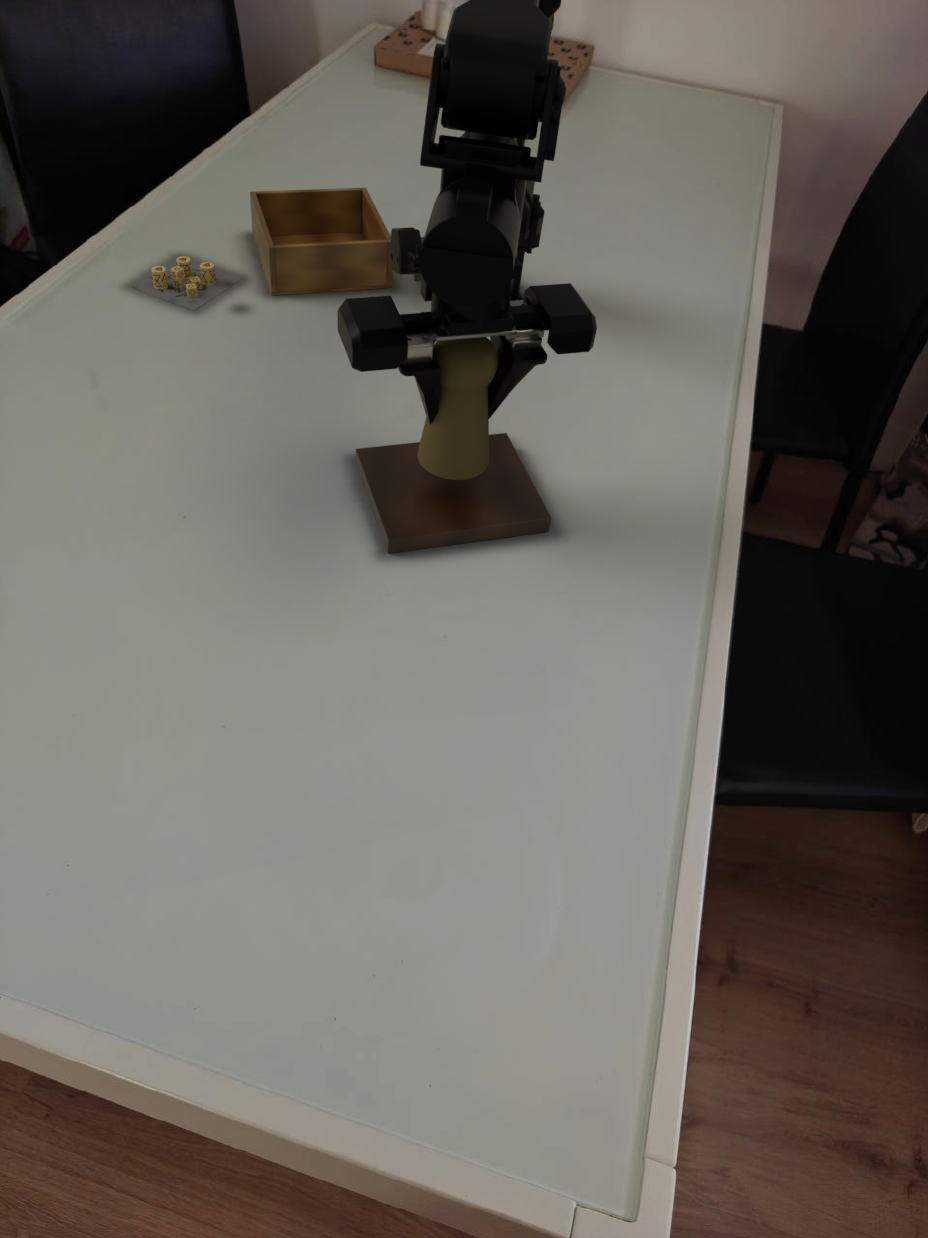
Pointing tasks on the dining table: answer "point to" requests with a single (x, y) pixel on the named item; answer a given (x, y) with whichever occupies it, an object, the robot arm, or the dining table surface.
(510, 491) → the walnut board
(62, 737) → the dining table surface
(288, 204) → the wooden box
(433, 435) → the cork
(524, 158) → the robot arm
